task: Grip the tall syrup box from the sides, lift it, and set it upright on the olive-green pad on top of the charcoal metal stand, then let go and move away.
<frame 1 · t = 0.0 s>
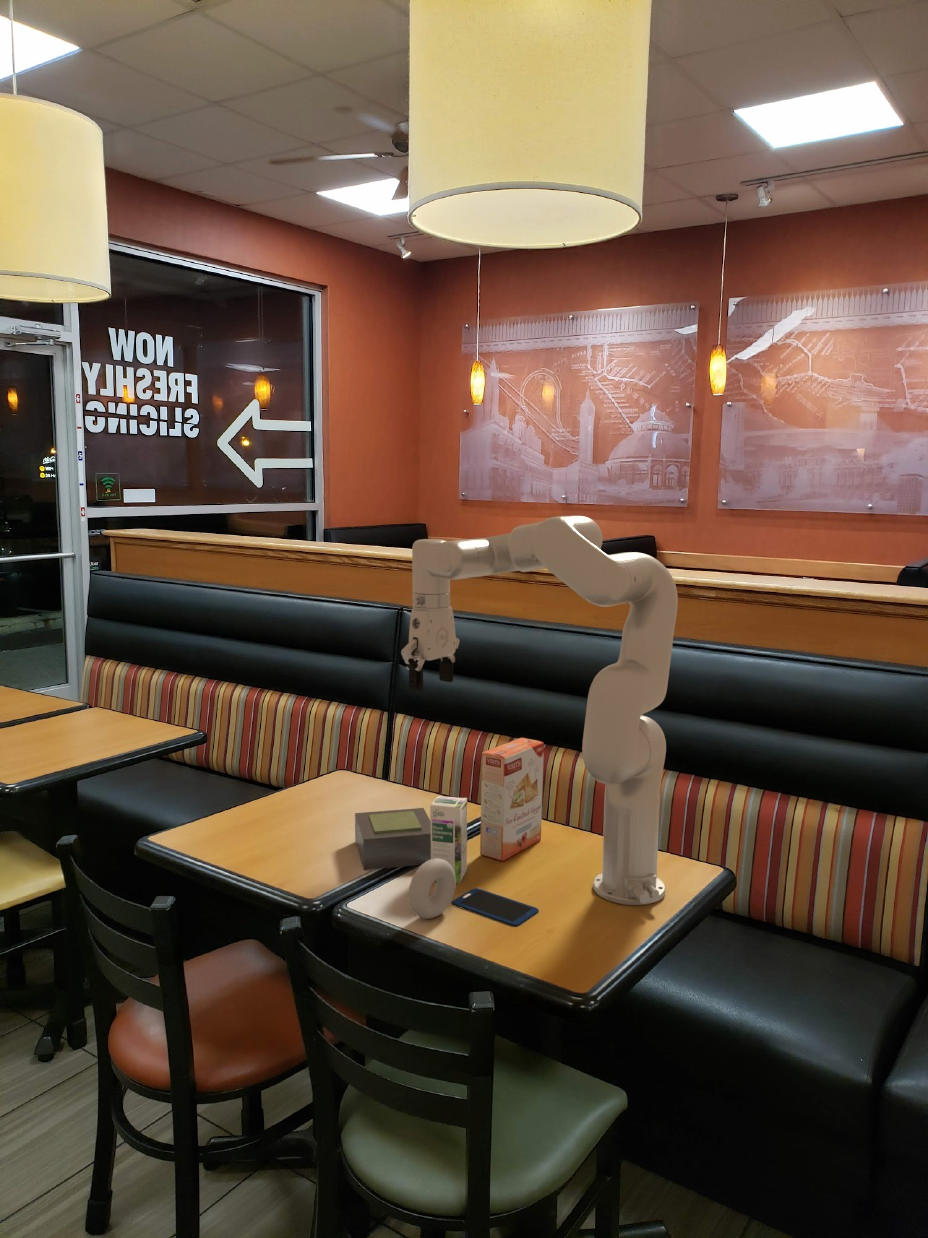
hand: (431, 685, 183), 31 cm above the table, tool pointing down, fingers open, 9 cm apart
stand: (395, 852, 178), on the table
cell phone: (494, 910, 155), on the table
cracker box: (511, 849, 180), on the table
donut: (432, 918, 151), on the table
syrup box: (448, 877, 167), on the table
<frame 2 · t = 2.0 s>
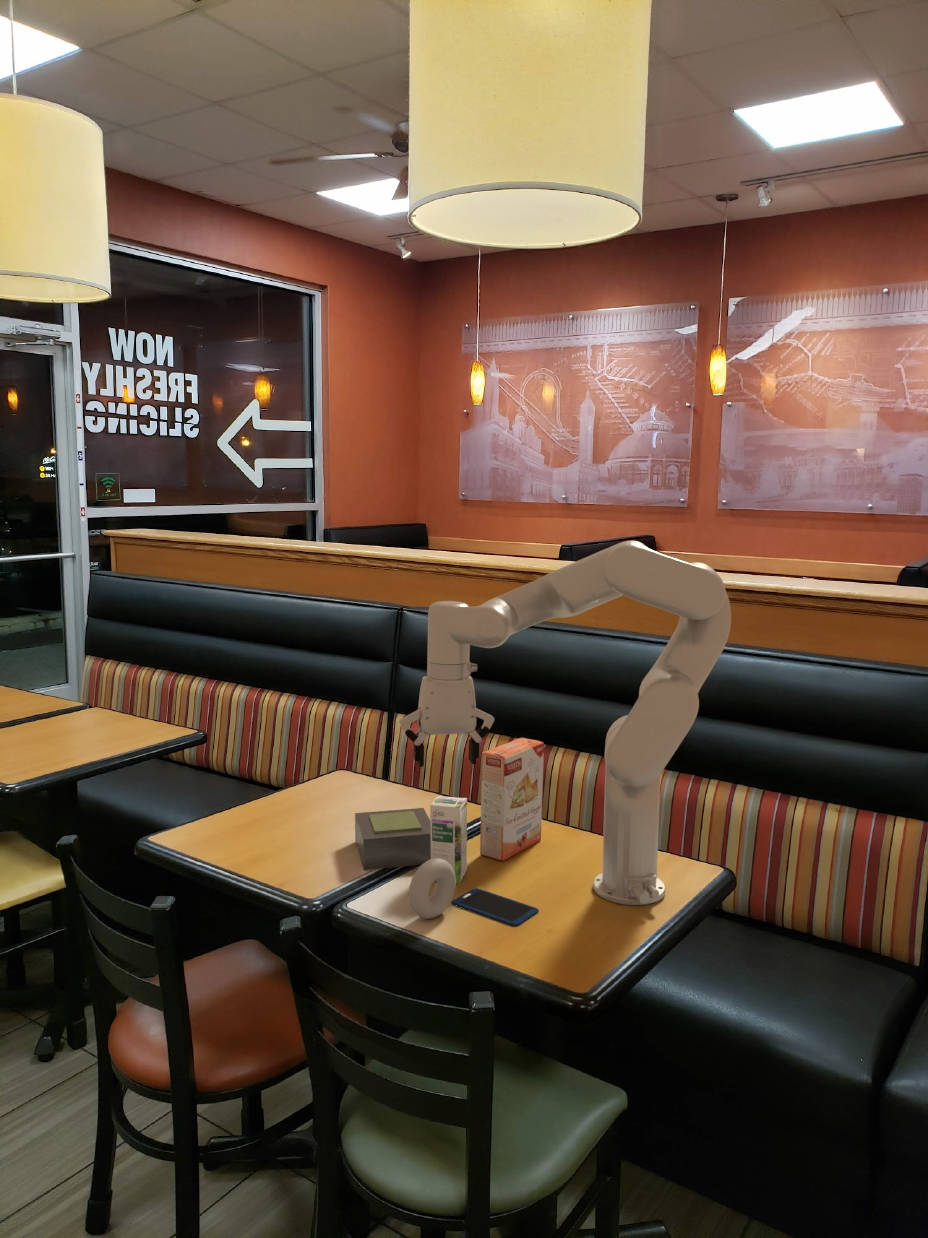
hand: (446, 763, 164), 21 cm above the table, tool pointing down, fingers open, 9 cm apart
nothing on the table moved.
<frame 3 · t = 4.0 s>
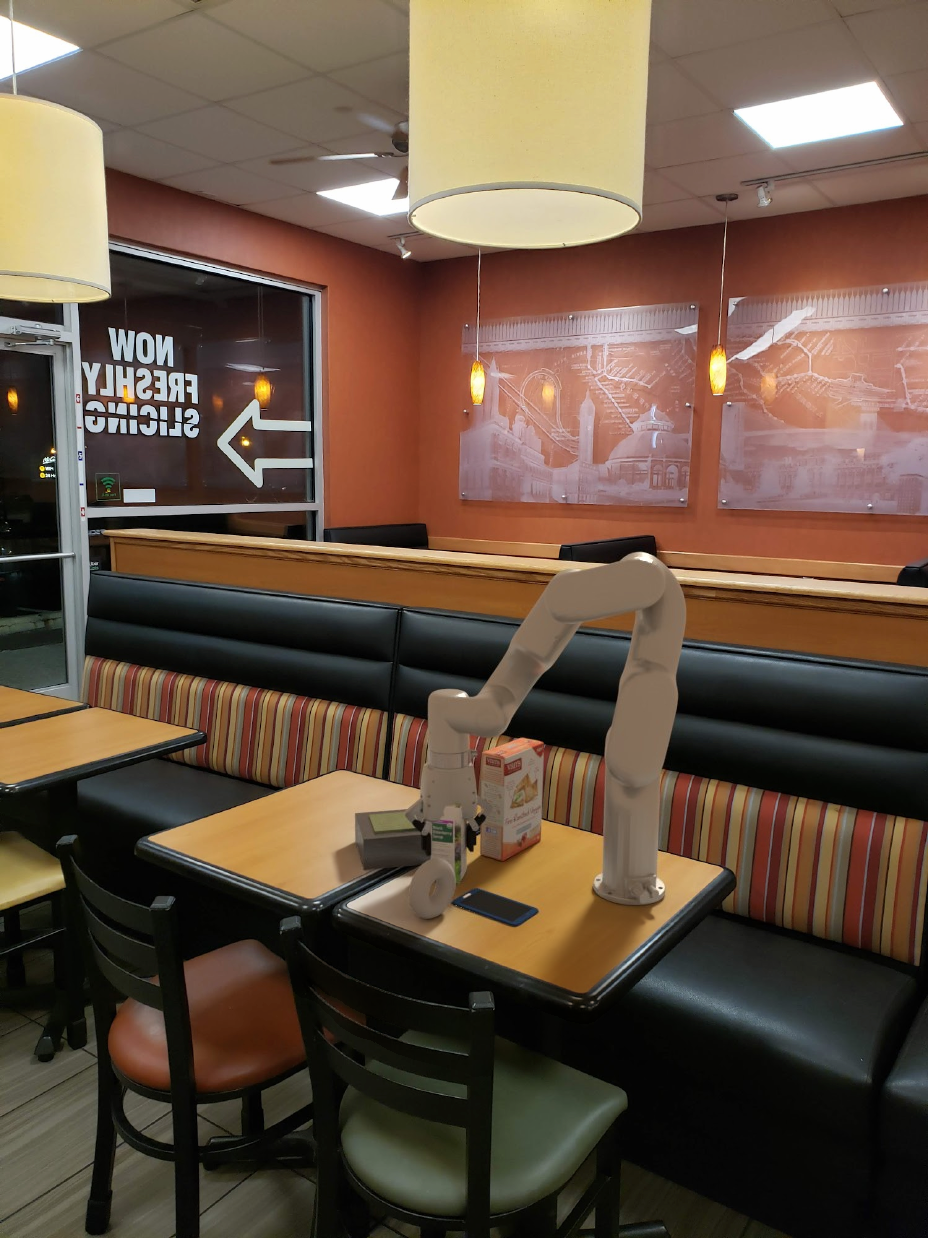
hand: (448, 850, 166), 5 cm above the table, tool pointing down, fingers closed on syrup box, 7 cm apart
syrup box: (448, 877, 167), on the table, touching gripper
everything else where it was.
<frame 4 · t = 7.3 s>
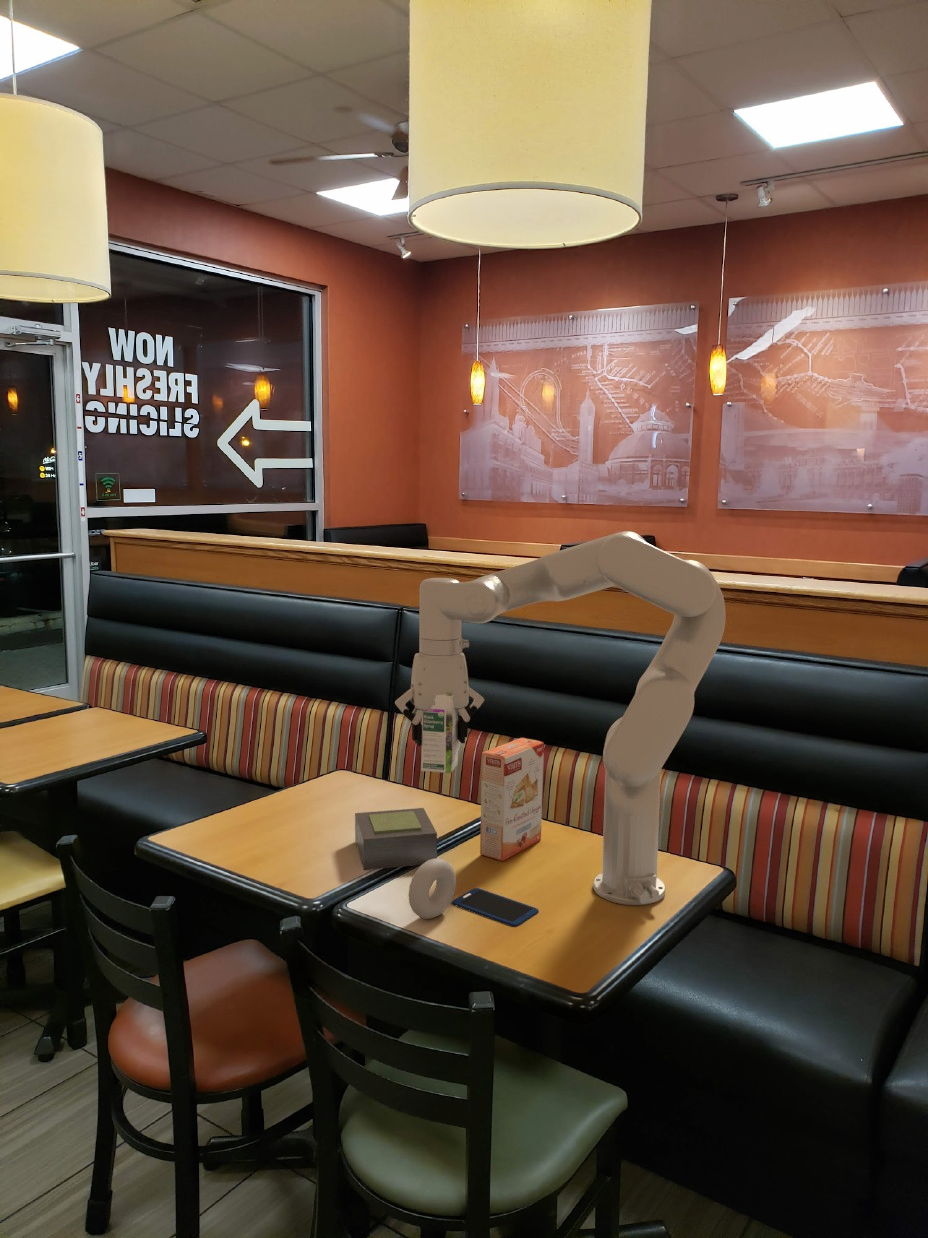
hand: (439, 742, 165), 25 cm above the table, tool pointing down, fingers closed on syrup box, 7 cm apart
syrup box: (439, 769, 166), point 20 cm above the table, touching gripper
everything else where it was.
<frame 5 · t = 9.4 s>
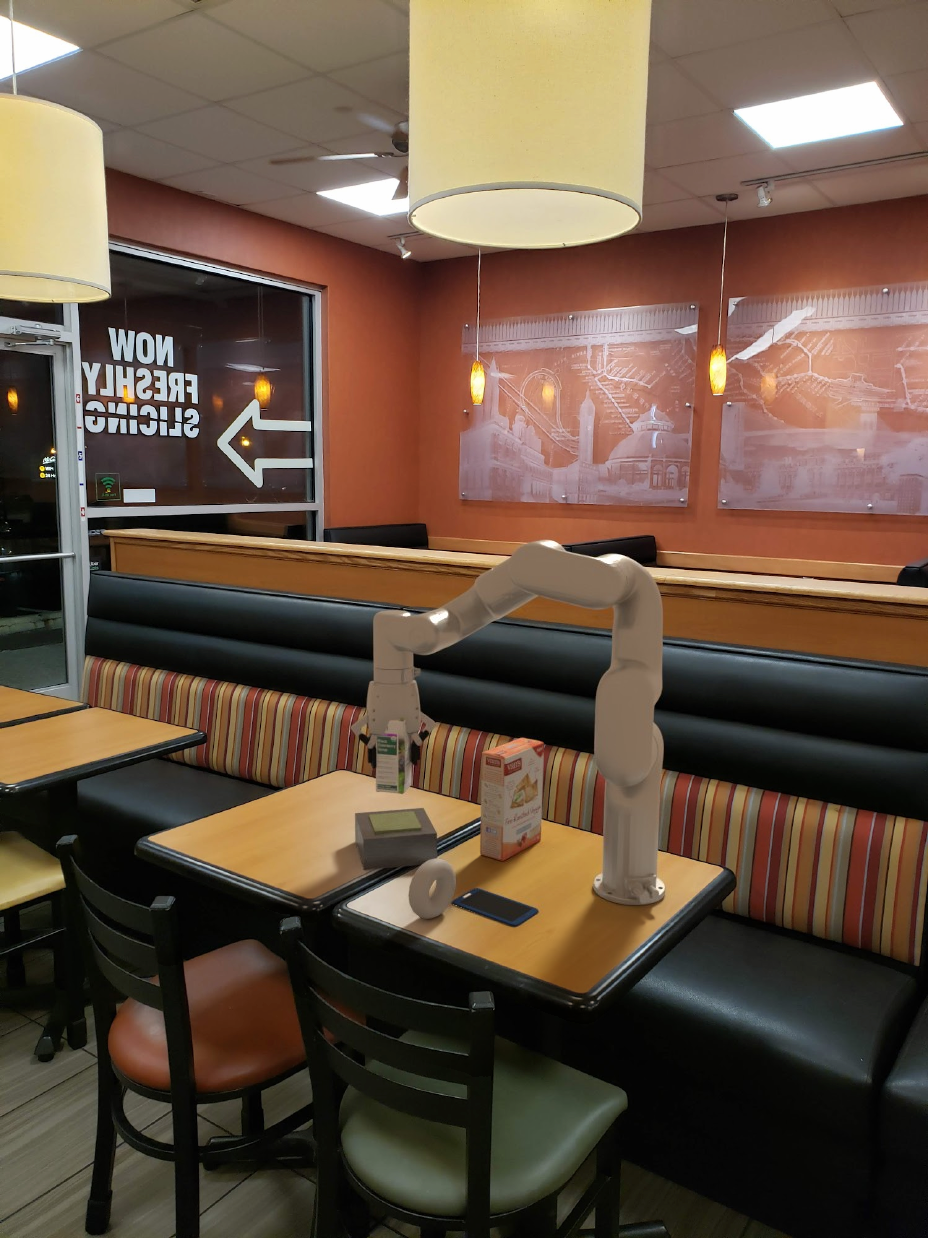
hand: (393, 764, 175), 18 cm above the table, tool pointing down, fingers closed on syrup box, 7 cm apart
syrup box: (393, 789, 176), point 13 cm above the table, touching gripper
everything else where it was.
when the fingers open (13 cm above the table, at t = 10.9 s): syrup box drops 1 cm, resting on stand.
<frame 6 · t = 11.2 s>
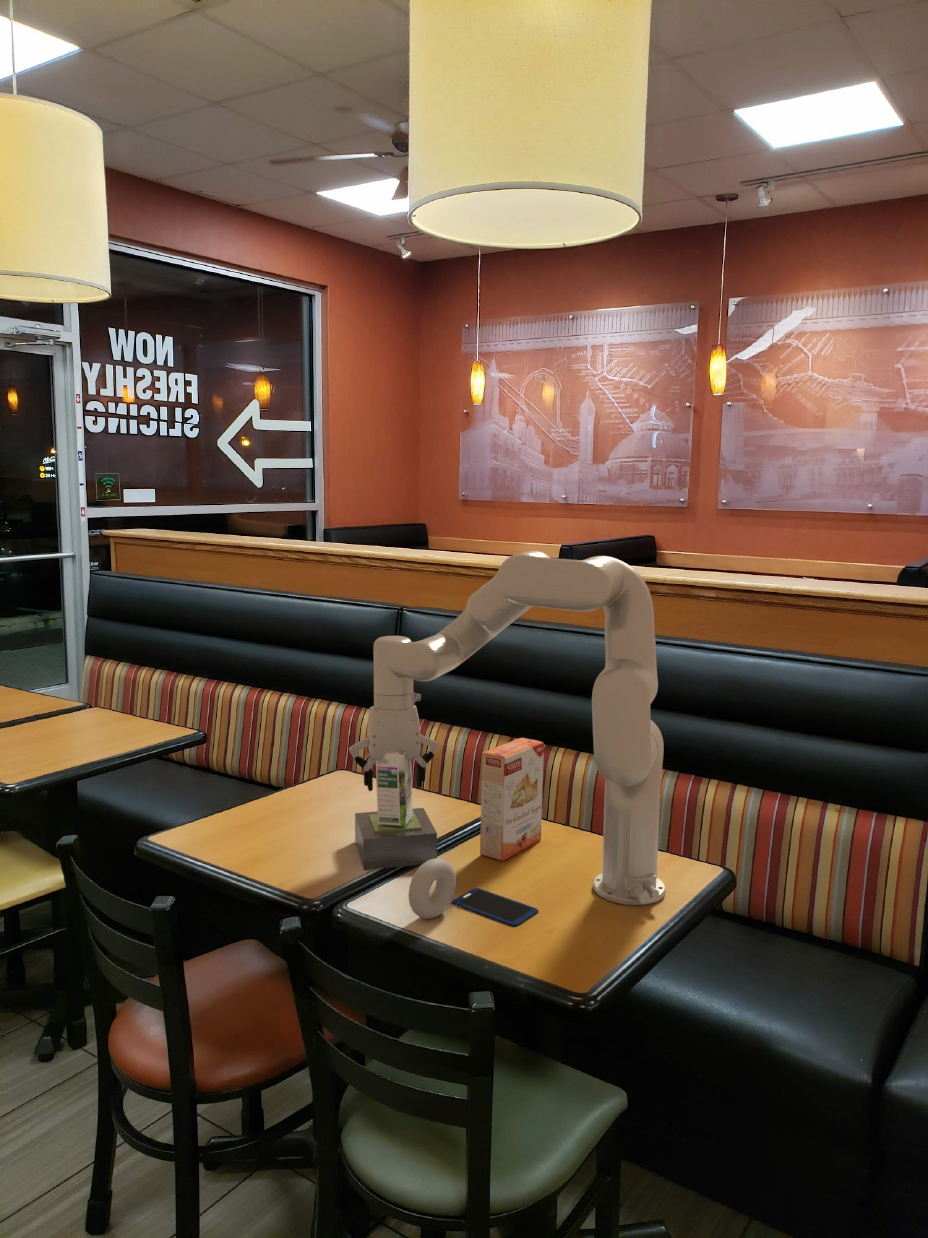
hand: (394, 787, 176), 13 cm above the table, tool pointing down, fingers open, 9 cm apart
syrup box: (395, 821, 177), point 6 cm above the table, touching stand
everything else where it was.
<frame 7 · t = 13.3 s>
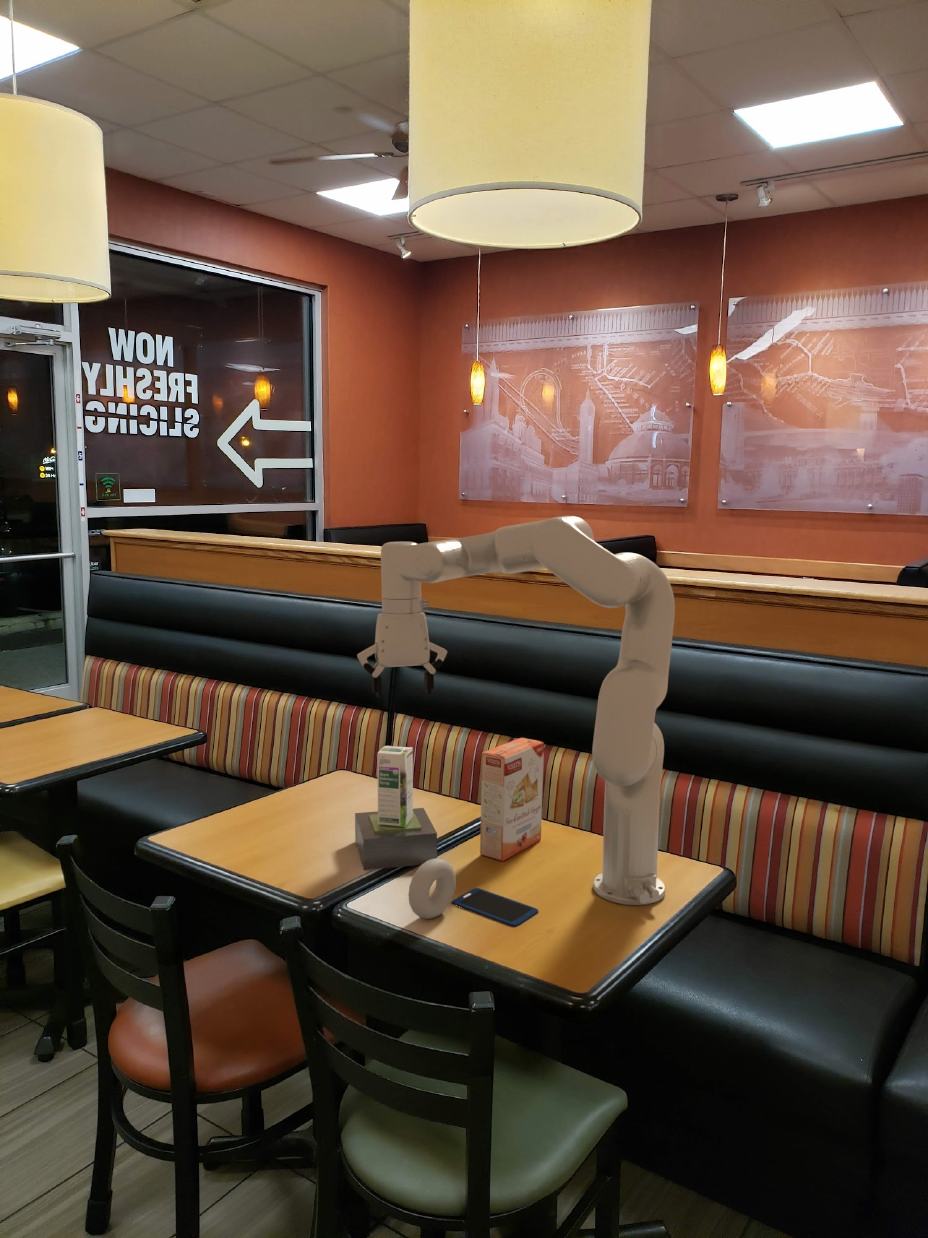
hand: (403, 694, 175), 31 cm above the table, tool pointing down, fingers open, 9 cm apart
nothing on the table moved.
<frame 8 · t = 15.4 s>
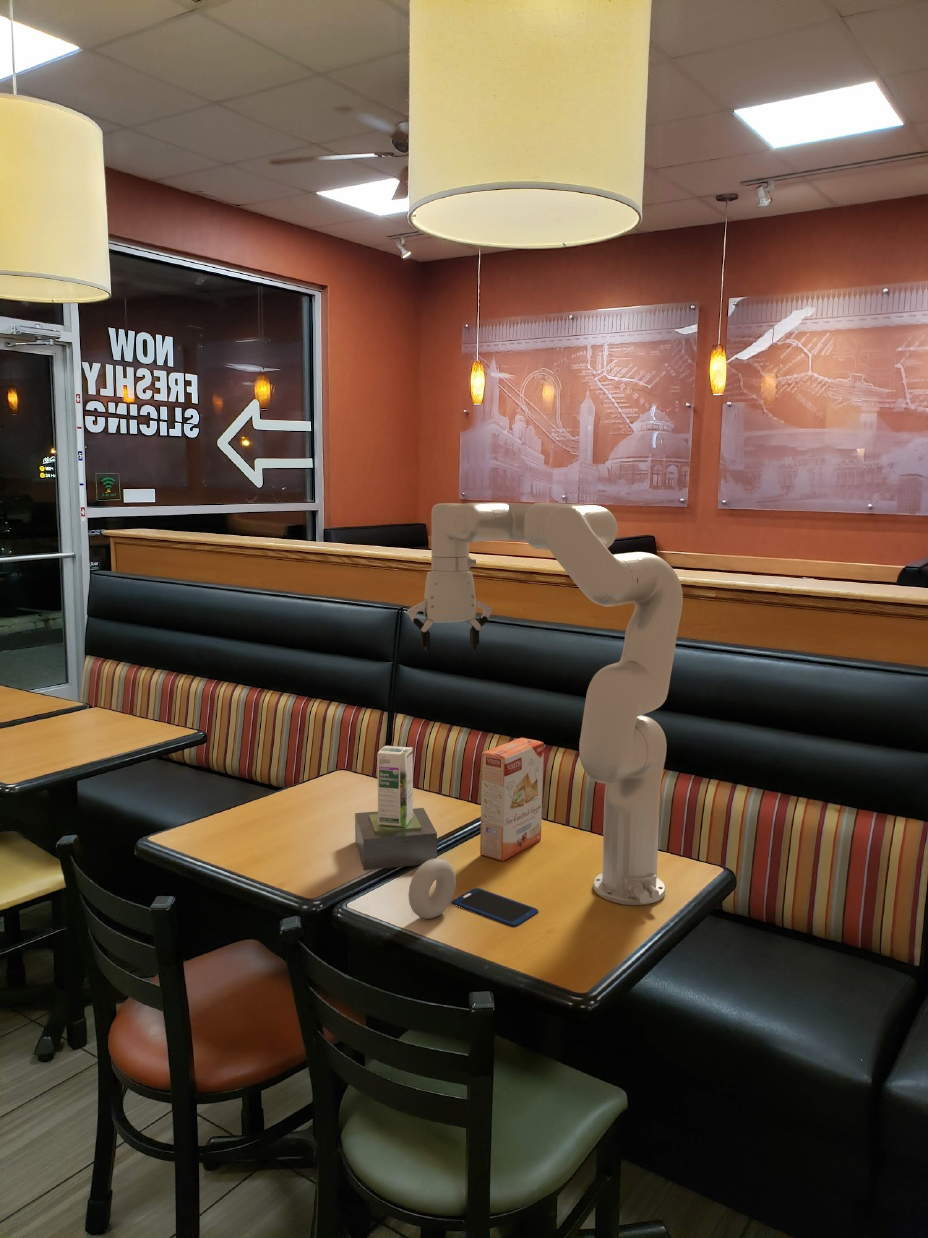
hand: (450, 649, 184), 38 cm above the table, tool pointing down, fingers open, 9 cm apart
nothing on the table moved.
at the end: syrup box inside the target area on the stand (0.1 cm from its centre), point 6.2 cm above the stand's base; syrup box tilted 0°; the gripper is holding nothing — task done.
